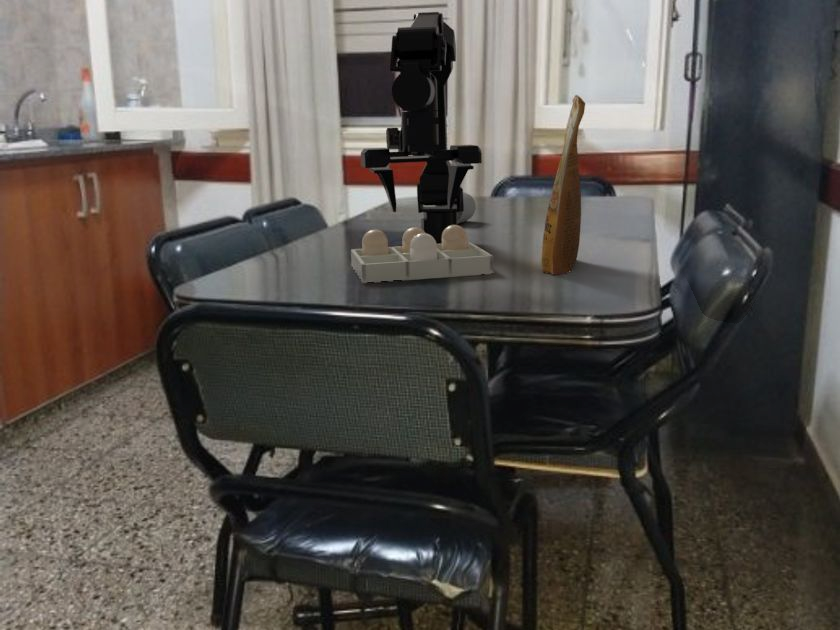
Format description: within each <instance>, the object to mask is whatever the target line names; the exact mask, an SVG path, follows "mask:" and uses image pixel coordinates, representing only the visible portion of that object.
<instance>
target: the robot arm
mask: <svg viewBox="0 0 840 630" xmlns="http://www.w3.org/2000/svg"><path fill="white" fill-rule="evenodd" d="M391 38H392V39H391V48H390V49H391V51H390V64H389V72H390V73H399V74H398V75H397V76H396V77H395V79H394V80H393V82H392V86H391V96H392V99H393V101H394V102H395V104H396V106H397V107H399V108H400V109H401V122H400V124H401V125H400V130H399V128H398V127H386V129H385V134H386V135H385V137H386V138H385V139H386V141H385V142H386V147H376V148H374V147H373V148H370V147H369V148H363V149H362V150H361V152H360V166H361V168H365V169H369V172H371V173H372V174H376V175H377V177H378V178H379V180H380V182H381V184H382V186H383V189H384V191H385V194H386V196H387V199H388V202H389V205H390V208H391V210H392V212H393V213H397V197H396V188H395V179H394V169H392V168H390V164H402V163H405V164H406V163H422V162H423V163H426V164H425V165H424V167H423V169H422V171H421V174H420V176H419V182H417V183H416V196H417V197H416V199H417V210H418V212H417V213H418V214H421V213H423V218H421V219H420V225H421V227H420V228H421V229H422V230H424V232H425V233H427V234H429V235H431V236H432V237H433V238H434V239H435V241H436V244H442V233H443V231H444V230H445V228H447V227H448V226H450V225H458V224H457V212H461V211H464V199H463V192H464V188H463V187H461V186H462V183H463V181H464V179H465V177H466V175H467V173H468V171H469V170H474V168H475V166H474V164H477V165H478V164H482V162H483V160H482V157H483V155H482V150H481V148H480V146H479V145H475V144H453V145H450V146H449V149H448V124H447V99H446V98H447V97H446V95H447V94H446V93H447V92H446V90H447V89H446V84H447V81H448V79H449V78H450V76H451V74H452V71H453V69H454V62H456V61H457V44H456V43H457V42H456V34H455V31H454V29H453V28H451V27H450V25H448V23H446V22H445V21H444V15H443V13H442V12H439V11H428V12H427V11H426V12H417V13H416V14H415V13H414V14H413V22H412V23H411V25H410V26H408V27H407V26H406V27H405V26H404V27H397V29H396V30H395V35H392V37H391ZM390 150H397V151H390ZM472 164H473V165H472ZM454 204H457V206H453V205H454ZM435 205H448V206H442V207H435Z"/></svg>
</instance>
